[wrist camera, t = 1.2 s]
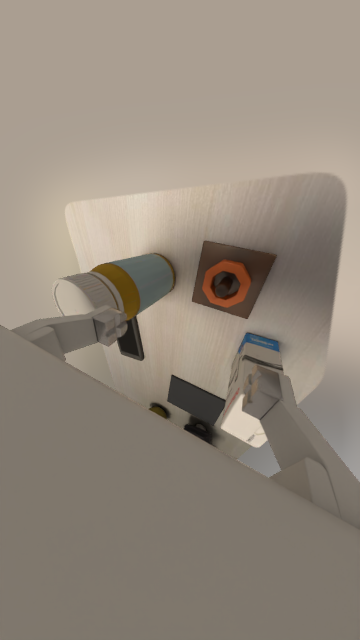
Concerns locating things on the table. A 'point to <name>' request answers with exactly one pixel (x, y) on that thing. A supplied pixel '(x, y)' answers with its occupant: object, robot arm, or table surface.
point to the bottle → (115, 286)
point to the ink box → (234, 418)
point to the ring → (232, 268)
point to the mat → (195, 400)
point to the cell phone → (131, 341)
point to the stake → (232, 275)
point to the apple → (158, 411)
